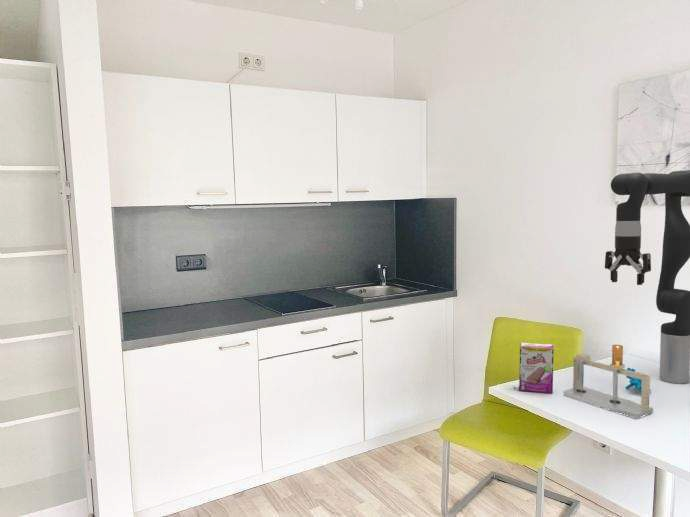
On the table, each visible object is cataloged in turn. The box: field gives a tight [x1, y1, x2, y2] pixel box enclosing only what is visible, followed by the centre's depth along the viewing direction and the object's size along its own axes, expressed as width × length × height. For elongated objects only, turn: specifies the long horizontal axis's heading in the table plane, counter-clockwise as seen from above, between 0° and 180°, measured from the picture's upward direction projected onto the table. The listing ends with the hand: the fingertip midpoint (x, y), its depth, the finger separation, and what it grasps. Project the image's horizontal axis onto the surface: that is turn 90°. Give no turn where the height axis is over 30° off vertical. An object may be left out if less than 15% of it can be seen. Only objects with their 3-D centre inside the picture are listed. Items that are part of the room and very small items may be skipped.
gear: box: [625, 367, 652, 393], centre depth 181 cm, size 11×6×10 cm
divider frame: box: [563, 353, 654, 420], centre depth 169 cm, size 9×25×14 cm, turn 31°
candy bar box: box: [518, 342, 555, 394], centre depth 183 cm, size 11×5×16 cm, turn 71°
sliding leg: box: [609, 344, 626, 401], centre depth 167 cm, size 3×3×18 cm
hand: (626, 283), depth 173 cm, fingers open, 8 cm apart
